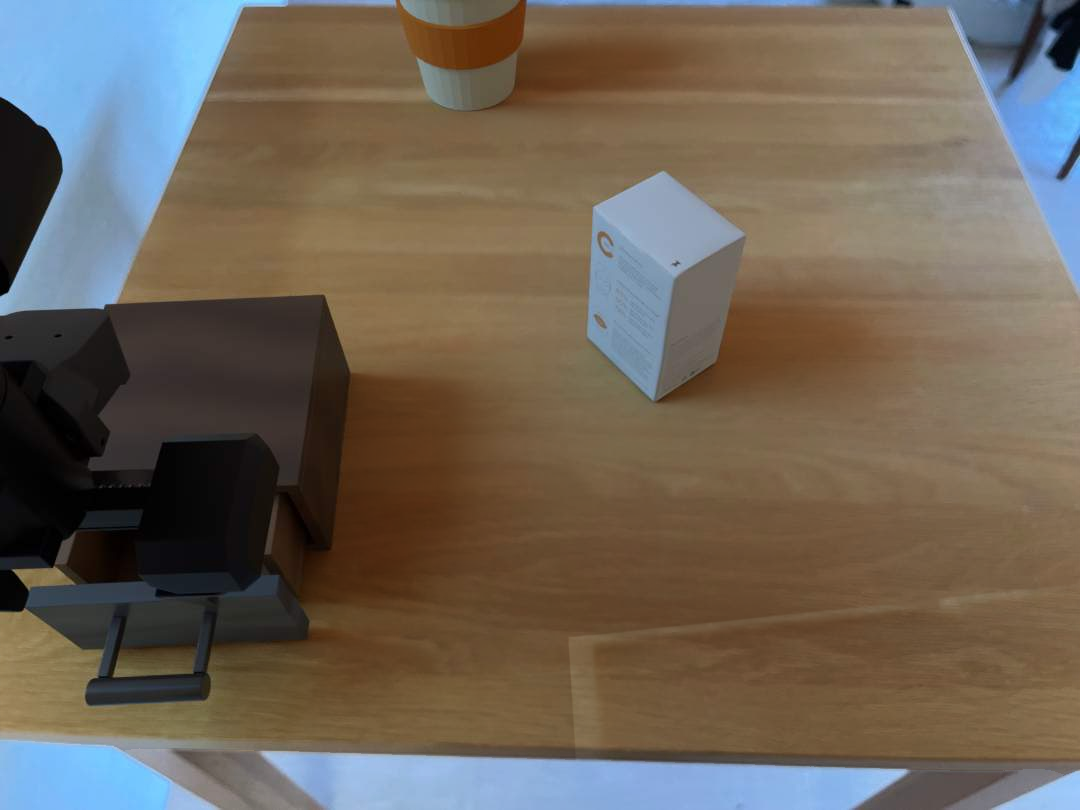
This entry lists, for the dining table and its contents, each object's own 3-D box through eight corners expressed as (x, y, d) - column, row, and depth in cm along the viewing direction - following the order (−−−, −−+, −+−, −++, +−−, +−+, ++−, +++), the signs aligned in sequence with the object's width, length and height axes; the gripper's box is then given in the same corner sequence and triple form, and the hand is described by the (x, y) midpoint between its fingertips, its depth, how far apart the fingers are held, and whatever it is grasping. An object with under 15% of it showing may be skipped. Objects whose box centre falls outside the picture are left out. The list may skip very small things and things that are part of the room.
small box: (717, 363, 63) (750, 234, 52) (653, 405, 60) (674, 279, 50) (646, 299, 66) (664, 166, 56) (584, 336, 64) (589, 206, 54)
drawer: (298, 720, 47) (263, 684, 42) (60, 732, 47) (-7, 697, 42) (330, 448, 58) (306, 390, 52) (135, 457, 58) (90, 400, 52)
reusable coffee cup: (406, 51, 87) (381, -103, 74) (526, 43, 87) (521, -112, 75) (407, 127, 79) (380, -31, 67) (538, 117, 80) (535, -41, 68)
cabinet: (331, 550, 54) (297, 484, 47) (106, 561, 54) (38, 497, 47) (350, 372, 63) (324, 294, 56) (155, 381, 62) (104, 303, 55)
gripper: (243, 232, 32) (332, 450, 45) (-243, 248, 32) (-16, 462, 45) (179, 483, 26) (304, 655, 38) (-431, 503, 26) (-103, 669, 38)
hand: (119, 598), depth 40 cm, fingers open, 9 cm apart
